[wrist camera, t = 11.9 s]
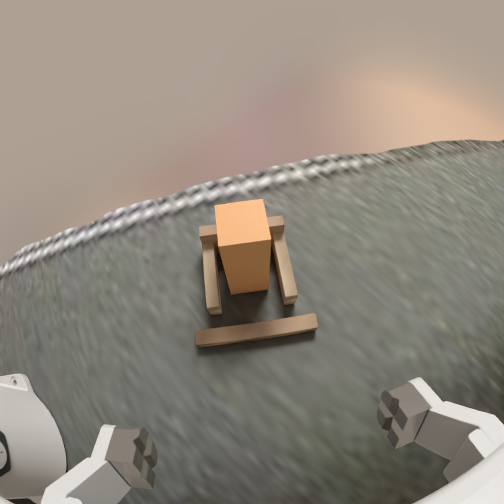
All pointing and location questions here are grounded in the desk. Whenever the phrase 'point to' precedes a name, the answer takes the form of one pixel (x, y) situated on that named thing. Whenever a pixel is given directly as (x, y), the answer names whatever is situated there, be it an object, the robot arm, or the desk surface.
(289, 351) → the desk surface
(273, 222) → the index bracket
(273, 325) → the door edge strip
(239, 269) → the block
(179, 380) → the desk surface
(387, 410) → the robot arm
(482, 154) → the desk surface
